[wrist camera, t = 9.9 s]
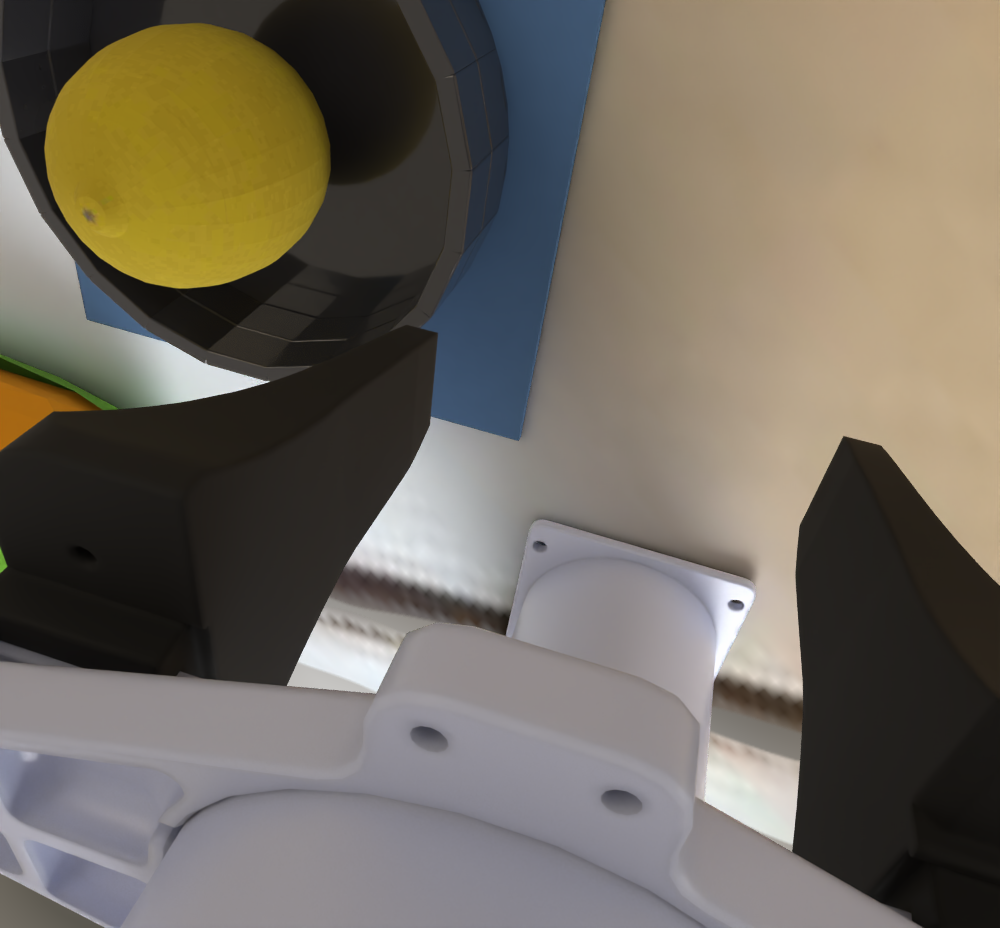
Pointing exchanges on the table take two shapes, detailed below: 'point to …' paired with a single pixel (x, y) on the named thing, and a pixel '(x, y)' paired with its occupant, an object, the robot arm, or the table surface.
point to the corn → (35, 401)
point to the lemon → (187, 155)
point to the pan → (353, 177)
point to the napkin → (499, 220)
